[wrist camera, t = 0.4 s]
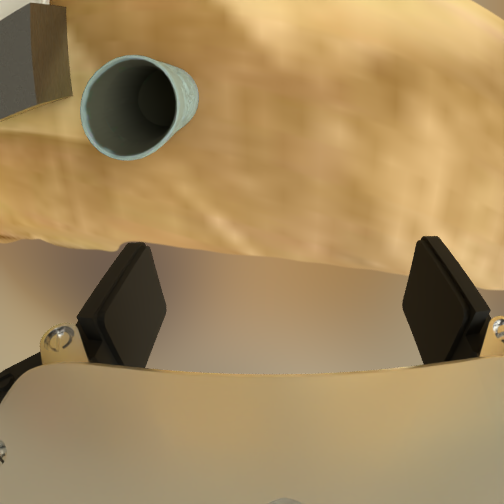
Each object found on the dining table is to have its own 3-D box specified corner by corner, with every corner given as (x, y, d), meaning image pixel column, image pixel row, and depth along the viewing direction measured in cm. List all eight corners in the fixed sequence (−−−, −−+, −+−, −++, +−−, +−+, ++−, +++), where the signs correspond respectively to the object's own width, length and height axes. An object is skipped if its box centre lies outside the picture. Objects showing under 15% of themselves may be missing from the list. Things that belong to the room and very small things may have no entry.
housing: (-6, 45, 29) (-40, 49, 22) (65, 7, 27) (30, 2, 21) (2, 121, 36) (-32, 134, 29) (72, 95, 35) (37, 104, 28)
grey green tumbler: (123, 125, 37) (73, 148, 27) (140, 52, 32) (91, 49, 22) (194, 144, 38) (163, 173, 28) (217, 68, 33) (192, 65, 23)
